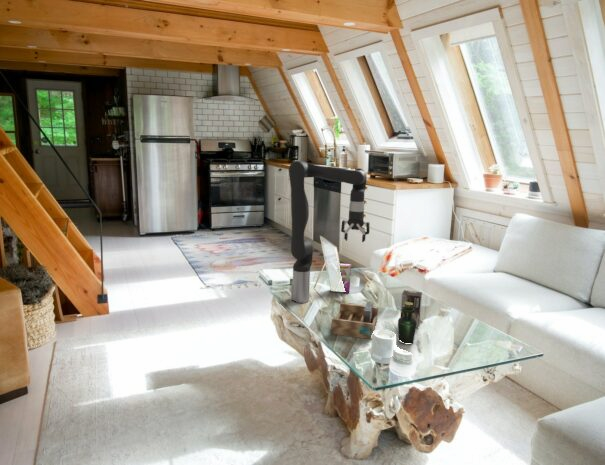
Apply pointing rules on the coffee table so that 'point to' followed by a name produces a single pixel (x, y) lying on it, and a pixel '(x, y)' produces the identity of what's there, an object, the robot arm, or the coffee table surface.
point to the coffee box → (416, 300)
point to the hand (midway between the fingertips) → (354, 241)
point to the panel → (368, 313)
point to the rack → (353, 321)
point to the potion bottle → (407, 324)
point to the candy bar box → (346, 275)
